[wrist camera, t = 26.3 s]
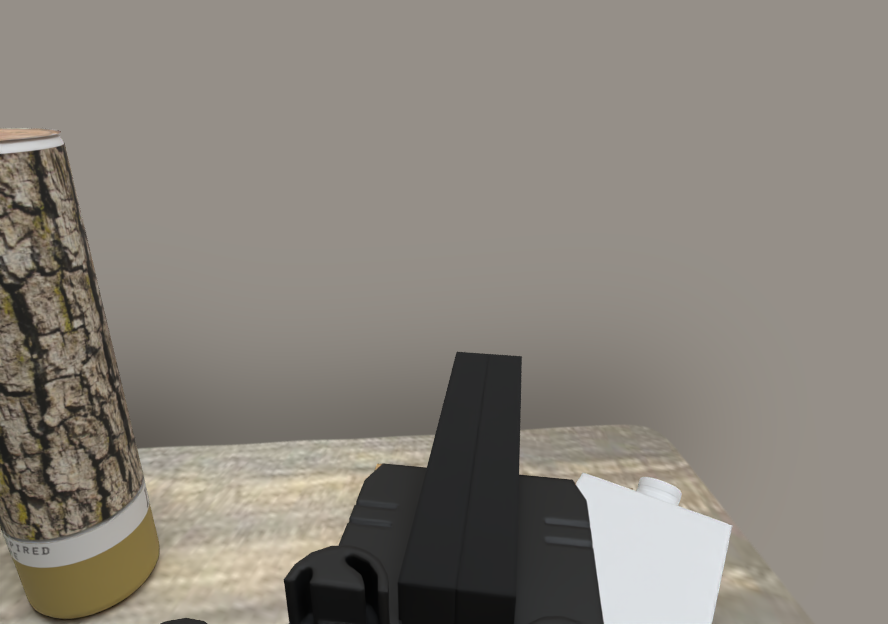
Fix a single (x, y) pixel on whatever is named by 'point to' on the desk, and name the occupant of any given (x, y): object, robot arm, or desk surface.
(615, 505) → the milk carton
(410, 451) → the desk surface
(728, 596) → the desk surface
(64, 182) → the paper tube
